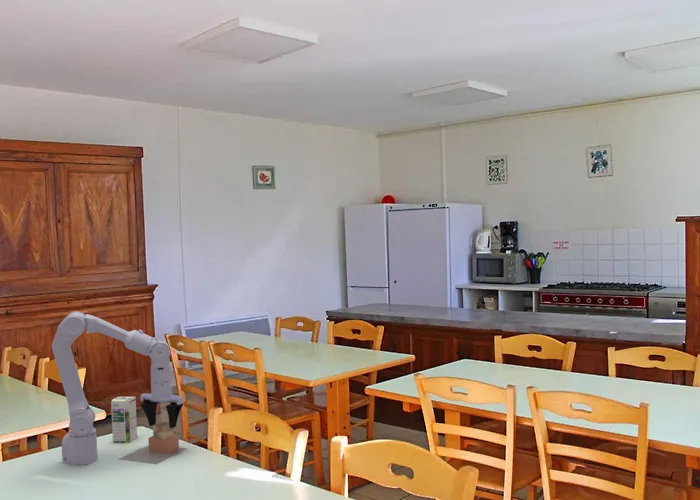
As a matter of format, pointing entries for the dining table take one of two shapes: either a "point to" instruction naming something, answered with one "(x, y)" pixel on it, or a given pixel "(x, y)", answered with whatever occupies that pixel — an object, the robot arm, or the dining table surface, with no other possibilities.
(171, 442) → the terracotta brick
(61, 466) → the dining table surface
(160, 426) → the beech cube
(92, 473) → the dining table surface
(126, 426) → the syrup box
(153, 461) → the building plate
